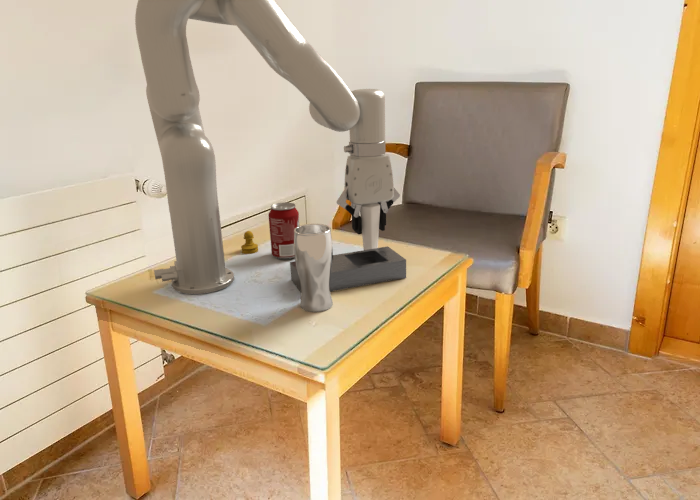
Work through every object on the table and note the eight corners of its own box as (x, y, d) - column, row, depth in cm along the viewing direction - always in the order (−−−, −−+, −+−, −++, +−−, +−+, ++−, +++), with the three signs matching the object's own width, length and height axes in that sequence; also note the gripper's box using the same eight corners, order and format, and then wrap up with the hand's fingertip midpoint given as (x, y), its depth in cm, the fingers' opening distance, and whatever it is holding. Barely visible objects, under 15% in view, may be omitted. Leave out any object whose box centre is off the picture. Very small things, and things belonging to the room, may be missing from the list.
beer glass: (315, 294, 116) (311, 220, 111) (342, 303, 112) (339, 227, 107) (290, 307, 111) (284, 230, 106) (317, 316, 107) (313, 237, 102)
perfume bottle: (356, 255, 136) (354, 191, 131) (373, 252, 137) (372, 189, 132) (365, 261, 132) (364, 196, 127) (383, 258, 133) (382, 193, 128)
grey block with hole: (303, 296, 115) (302, 277, 114) (291, 280, 123) (289, 262, 122) (406, 277, 122) (406, 259, 121) (387, 263, 130) (387, 246, 129)
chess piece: (244, 255, 138) (242, 234, 137) (239, 250, 142) (237, 230, 140) (260, 252, 140) (259, 231, 138) (255, 247, 143) (253, 227, 142)
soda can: (299, 260, 134) (296, 209, 130) (269, 261, 134) (265, 210, 130) (302, 250, 140) (299, 201, 136) (274, 251, 140) (270, 201, 136)
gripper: (336, 156, 120) (339, 241, 126) (411, 148, 126) (411, 230, 132) (324, 150, 127) (327, 231, 133) (396, 143, 132) (396, 221, 139)
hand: (369, 230), depth 132 cm, fingers open, 4 cm apart
